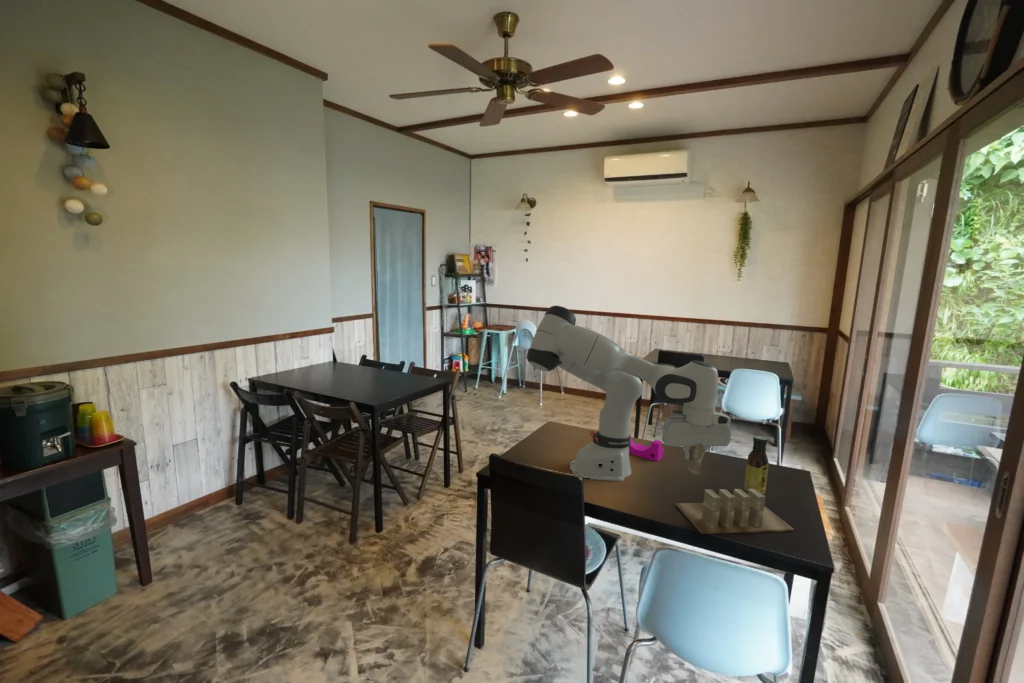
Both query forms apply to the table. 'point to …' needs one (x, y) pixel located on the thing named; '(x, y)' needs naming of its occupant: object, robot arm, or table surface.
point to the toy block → (647, 450)
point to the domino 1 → (695, 459)
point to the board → (768, 525)
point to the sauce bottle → (757, 466)
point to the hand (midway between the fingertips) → (693, 459)
